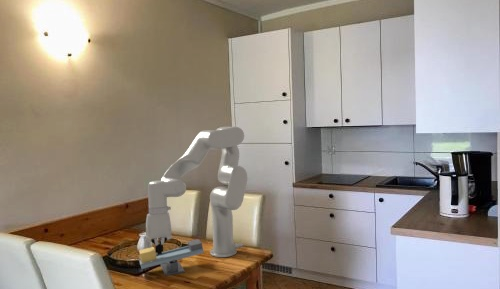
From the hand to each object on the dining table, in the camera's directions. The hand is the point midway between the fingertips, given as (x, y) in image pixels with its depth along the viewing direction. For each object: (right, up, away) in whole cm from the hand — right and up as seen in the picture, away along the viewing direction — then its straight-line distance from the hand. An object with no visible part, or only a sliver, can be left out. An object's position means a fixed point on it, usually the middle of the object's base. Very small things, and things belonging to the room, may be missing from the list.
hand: (159, 253), depth 163 cm
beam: (+5, -2, +2) cm, 6 cm away
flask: (-9, -7, +17) cm, 21 cm away
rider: (-4, -3, -1) cm, 5 cm away
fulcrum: (+5, -7, +2) cm, 9 cm away
